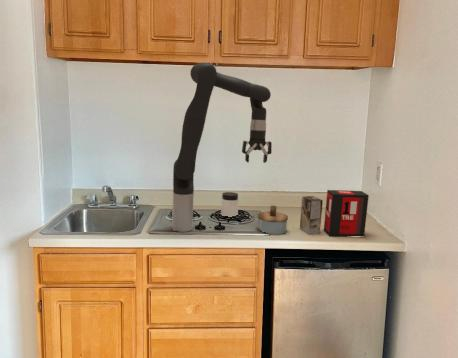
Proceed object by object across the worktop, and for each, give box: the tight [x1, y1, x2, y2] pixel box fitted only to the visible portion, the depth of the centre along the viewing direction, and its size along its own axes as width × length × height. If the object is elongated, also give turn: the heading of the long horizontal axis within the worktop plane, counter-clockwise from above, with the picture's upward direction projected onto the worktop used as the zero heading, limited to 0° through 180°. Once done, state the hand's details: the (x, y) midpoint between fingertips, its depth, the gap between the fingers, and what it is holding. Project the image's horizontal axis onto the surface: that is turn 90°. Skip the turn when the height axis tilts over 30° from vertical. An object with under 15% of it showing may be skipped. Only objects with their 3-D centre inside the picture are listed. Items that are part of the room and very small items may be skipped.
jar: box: [220, 191, 240, 217], centre depth 221 cm, size 9×8×12 cm
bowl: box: [258, 218, 288, 235], centre depth 201 cm, size 12×12×6 cm
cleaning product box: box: [323, 189, 370, 238], centre depth 200 cm, size 16×9×20 cm, turn 94°
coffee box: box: [299, 195, 324, 235], centre depth 202 cm, size 9×6×16 cm
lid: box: [257, 205, 289, 222], centre depth 200 cm, size 14×14×6 cm
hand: (256, 162), depth 208 cm, fingers open, 8 cm apart
